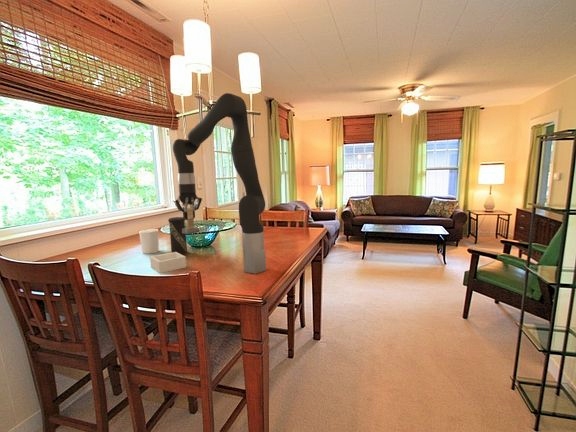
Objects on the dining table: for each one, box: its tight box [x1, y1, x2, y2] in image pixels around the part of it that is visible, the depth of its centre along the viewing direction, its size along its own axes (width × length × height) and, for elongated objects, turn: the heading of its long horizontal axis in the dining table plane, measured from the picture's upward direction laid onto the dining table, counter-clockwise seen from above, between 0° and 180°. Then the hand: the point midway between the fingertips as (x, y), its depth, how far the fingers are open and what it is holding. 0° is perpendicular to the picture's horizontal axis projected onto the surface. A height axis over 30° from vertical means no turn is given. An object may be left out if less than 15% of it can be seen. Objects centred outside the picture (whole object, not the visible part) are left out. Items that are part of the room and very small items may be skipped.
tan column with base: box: [182, 206, 200, 235], centre depth 144 cm, size 6×6×12 cm
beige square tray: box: [149, 252, 187, 274], centre depth 139 cm, size 12×12×5 cm
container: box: [167, 216, 188, 256], centre depth 161 cm, size 9×9×20 cm
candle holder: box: [138, 228, 160, 254], centre depth 167 cm, size 10×10×12 cm
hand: (189, 219), depth 144 cm, fingers closed on tan column with base, 2 cm apart
